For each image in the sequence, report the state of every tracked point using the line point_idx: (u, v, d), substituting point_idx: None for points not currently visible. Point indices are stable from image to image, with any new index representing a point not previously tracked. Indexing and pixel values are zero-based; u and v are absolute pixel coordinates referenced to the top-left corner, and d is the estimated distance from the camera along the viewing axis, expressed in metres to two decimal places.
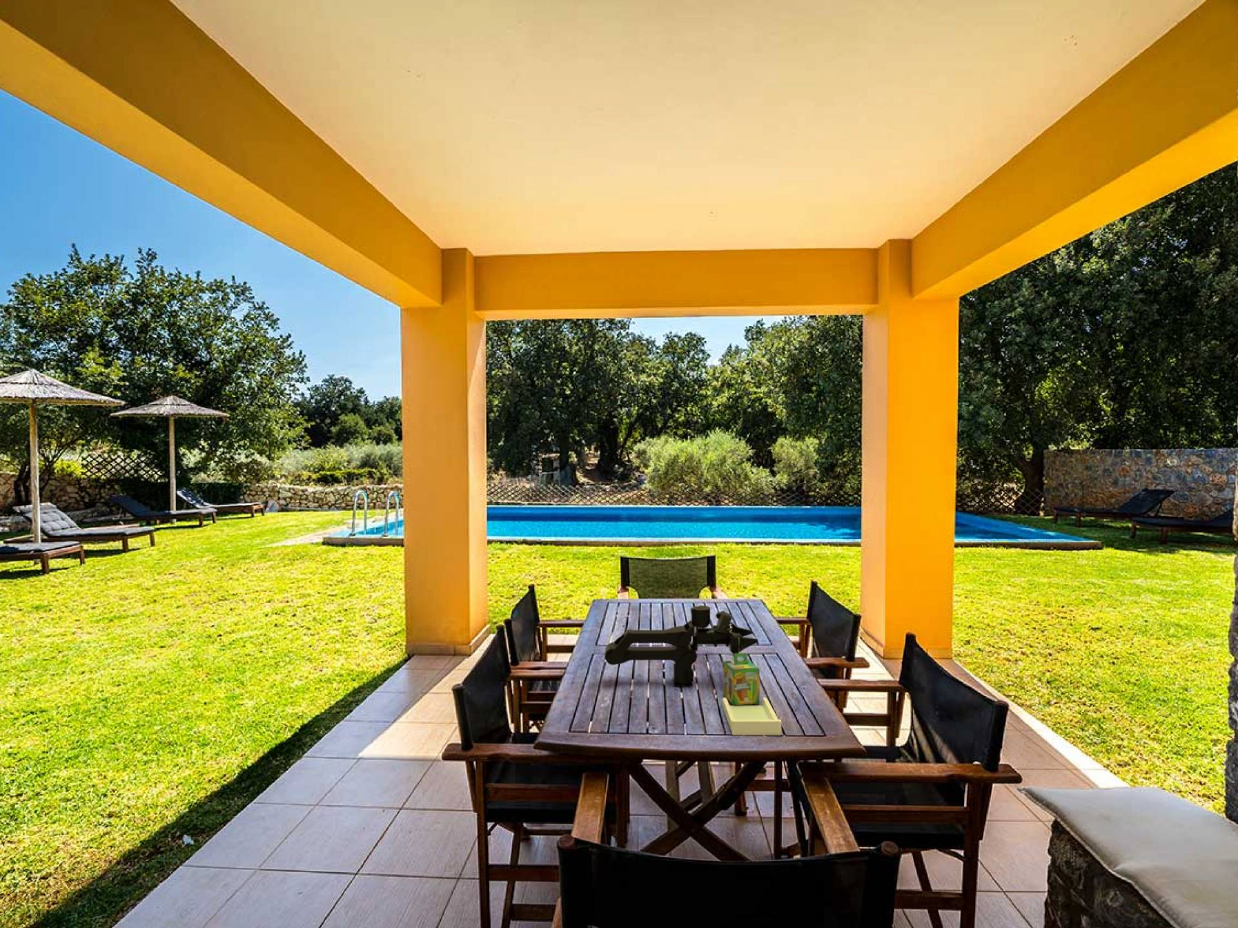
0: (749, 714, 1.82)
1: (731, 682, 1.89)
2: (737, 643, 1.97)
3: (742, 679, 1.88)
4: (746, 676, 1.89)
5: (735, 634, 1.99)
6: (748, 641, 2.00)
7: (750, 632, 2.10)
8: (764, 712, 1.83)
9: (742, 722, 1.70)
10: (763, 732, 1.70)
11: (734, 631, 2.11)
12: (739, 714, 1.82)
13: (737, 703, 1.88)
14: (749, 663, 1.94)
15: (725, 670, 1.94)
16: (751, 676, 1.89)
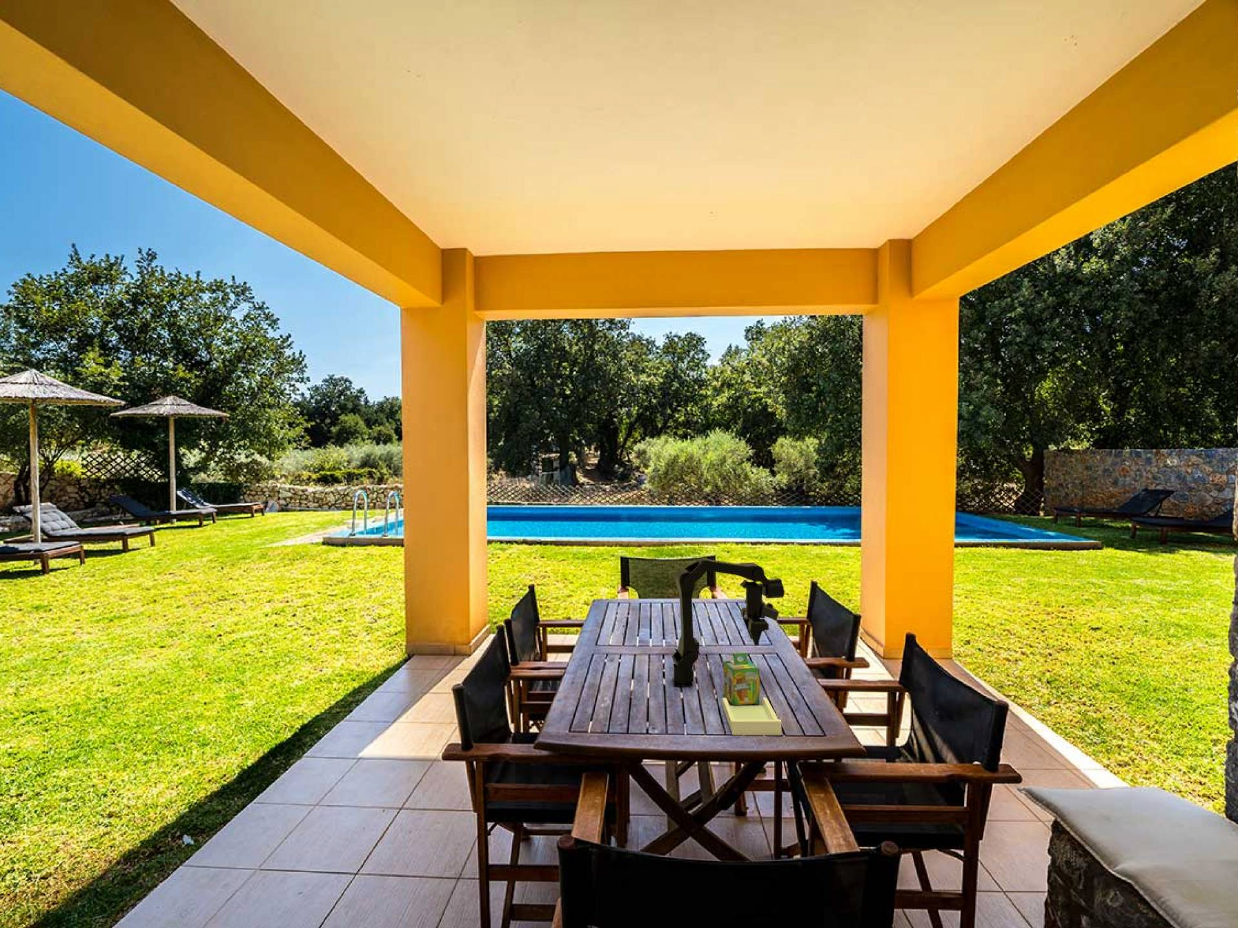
0: (749, 714, 1.82)
1: (731, 682, 1.89)
2: (761, 628, 2.01)
3: (742, 679, 1.88)
4: (746, 676, 1.89)
5: None
6: (757, 636, 2.06)
7: (752, 637, 2.13)
8: (764, 712, 1.83)
9: (742, 722, 1.70)
10: (763, 732, 1.70)
11: None
12: (739, 714, 1.82)
13: (737, 703, 1.88)
14: (749, 663, 1.94)
15: (725, 671, 1.94)
16: (751, 676, 1.89)
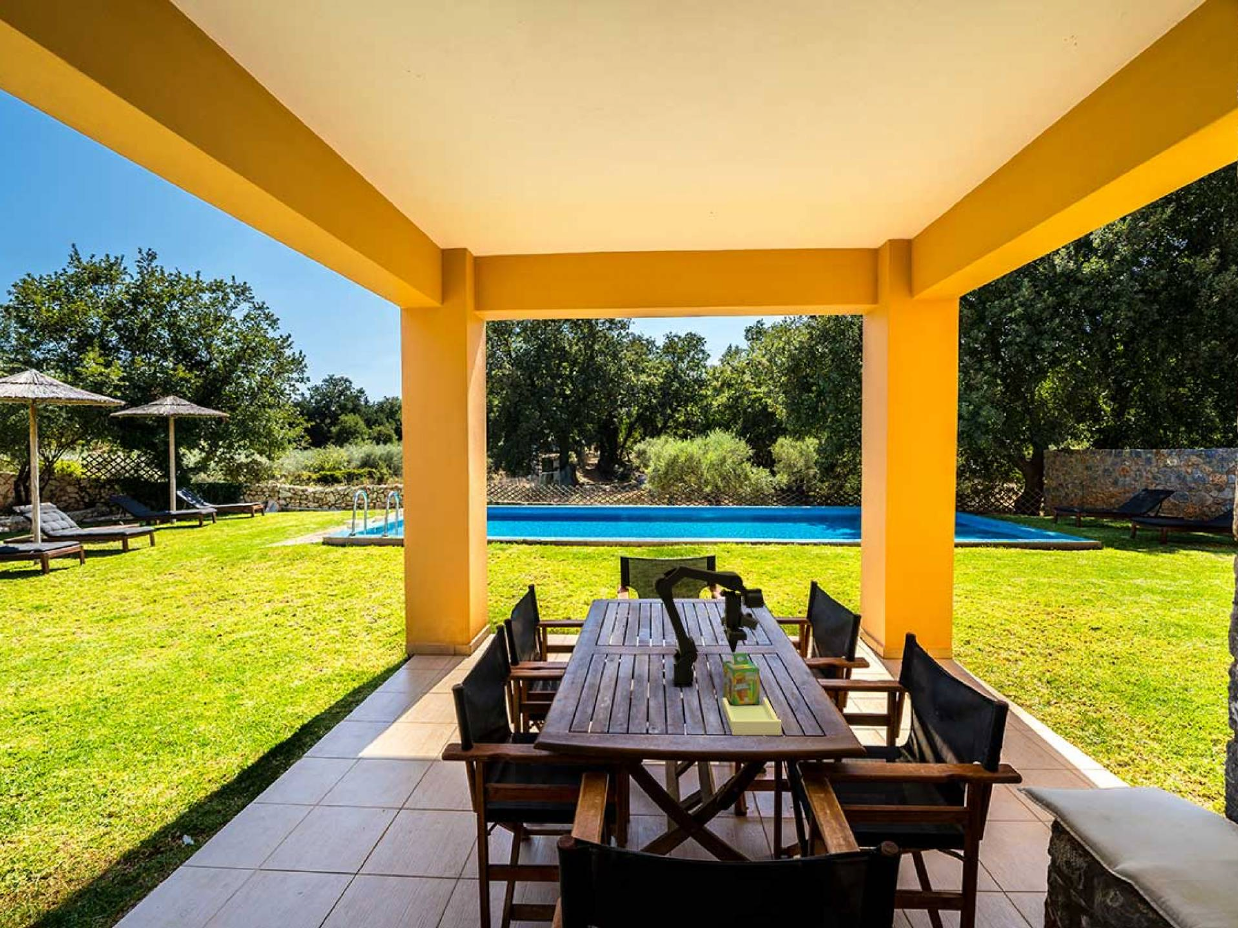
0: (749, 714, 1.82)
1: (731, 682, 1.89)
2: (740, 639, 1.98)
3: (742, 679, 1.88)
4: (746, 676, 1.89)
5: None
6: (734, 643, 2.06)
7: None
8: (764, 712, 1.83)
9: (742, 722, 1.70)
10: (763, 732, 1.70)
11: None
12: (739, 714, 1.82)
13: (737, 703, 1.88)
14: (749, 663, 1.94)
15: (725, 671, 1.94)
16: (751, 676, 1.89)
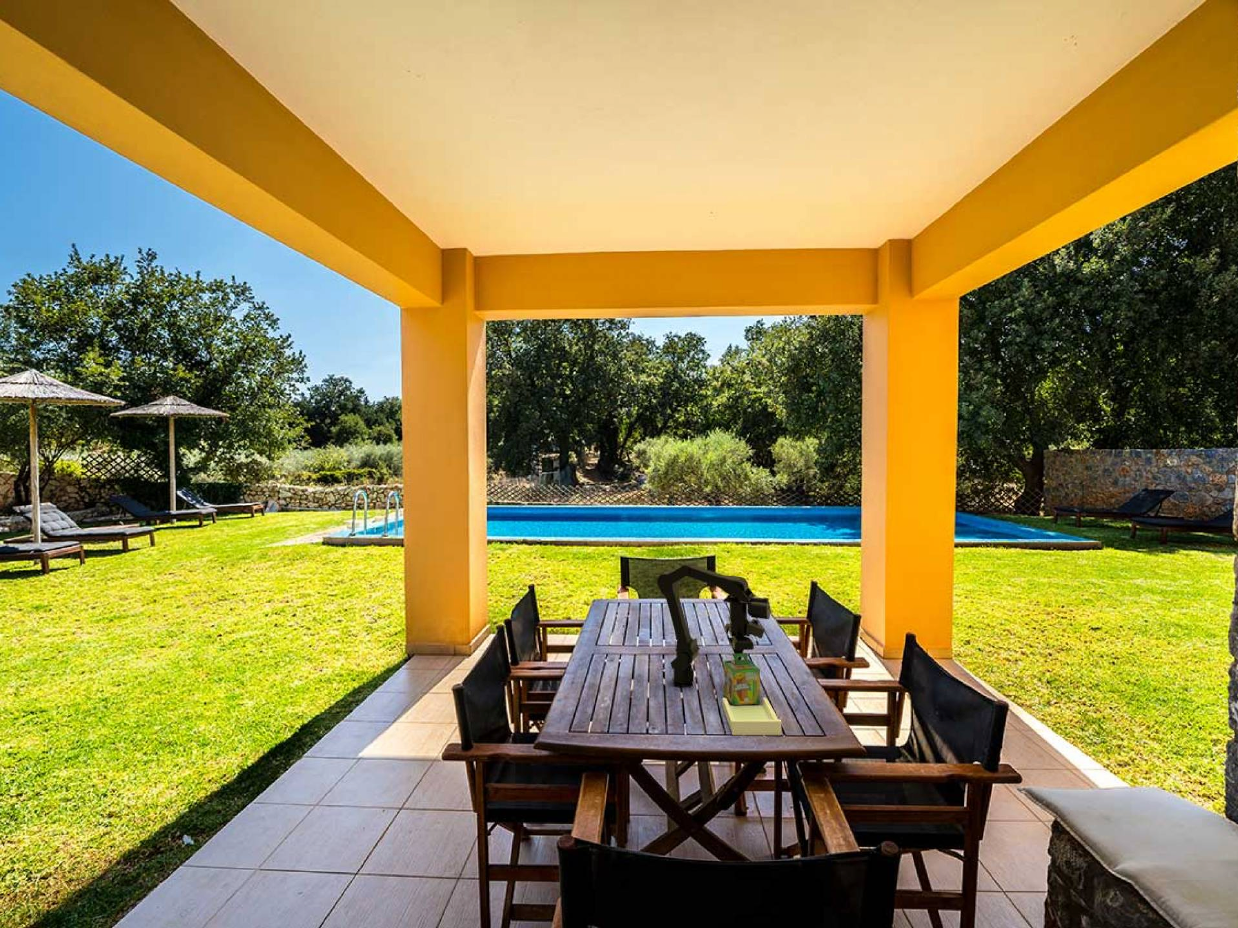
0: (749, 714, 1.82)
1: (731, 682, 1.89)
2: (746, 648, 1.88)
3: (742, 679, 1.88)
4: (746, 676, 1.88)
5: None
6: (739, 652, 1.97)
7: (738, 659, 1.98)
8: (764, 712, 1.83)
9: (742, 722, 1.70)
10: (763, 732, 1.70)
11: None
12: (739, 714, 1.82)
13: (737, 703, 1.88)
14: (749, 663, 1.94)
15: (726, 670, 1.94)
16: (751, 676, 1.89)
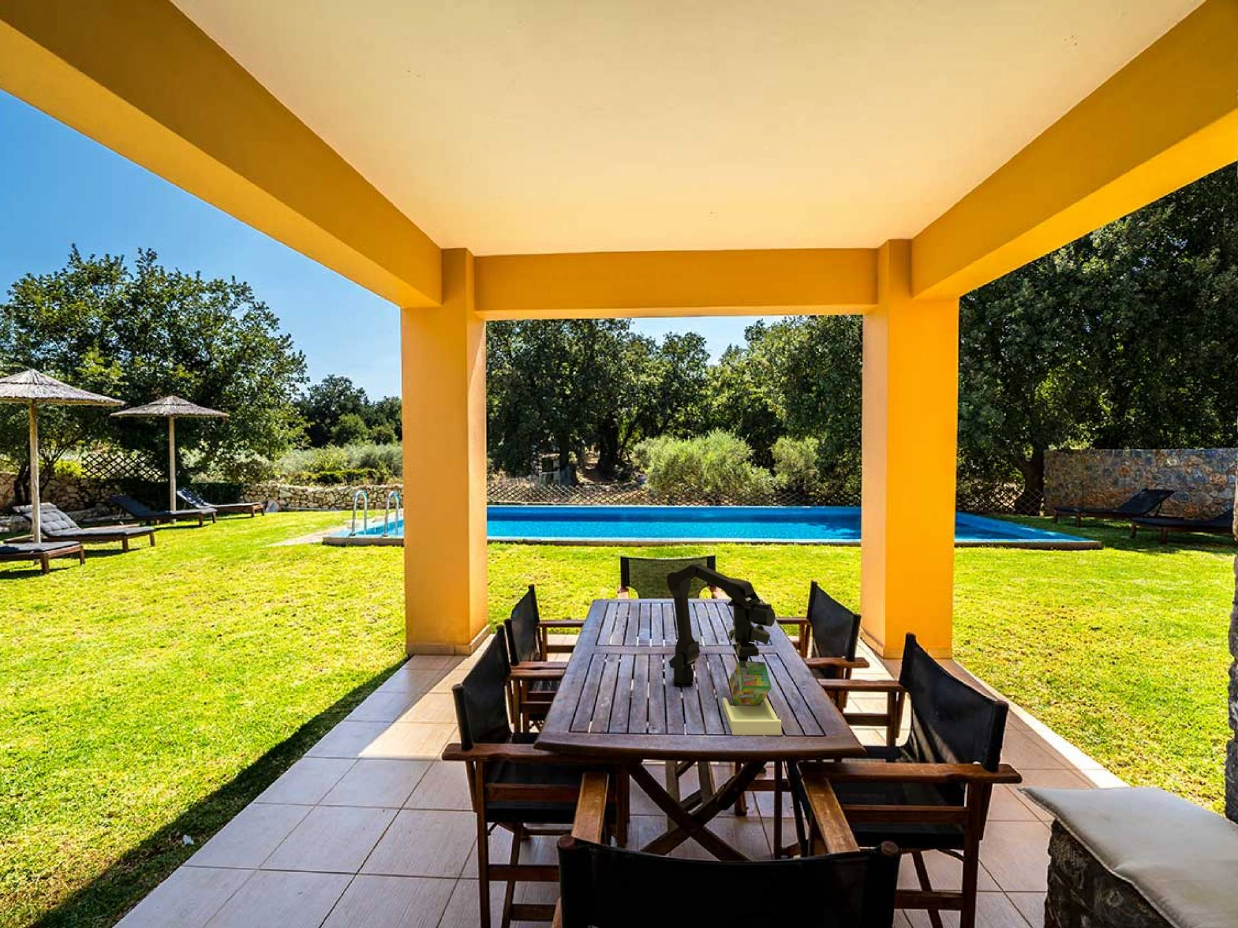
0: (749, 714, 1.82)
1: (738, 689, 1.84)
2: (751, 654, 1.81)
3: (750, 692, 1.83)
4: (755, 691, 1.82)
5: None
6: (744, 659, 1.89)
7: None
8: (764, 712, 1.83)
9: (742, 722, 1.70)
10: (763, 732, 1.70)
11: None
12: (739, 714, 1.82)
13: (738, 704, 1.87)
14: (763, 673, 1.84)
15: (737, 670, 1.87)
16: (760, 691, 1.82)
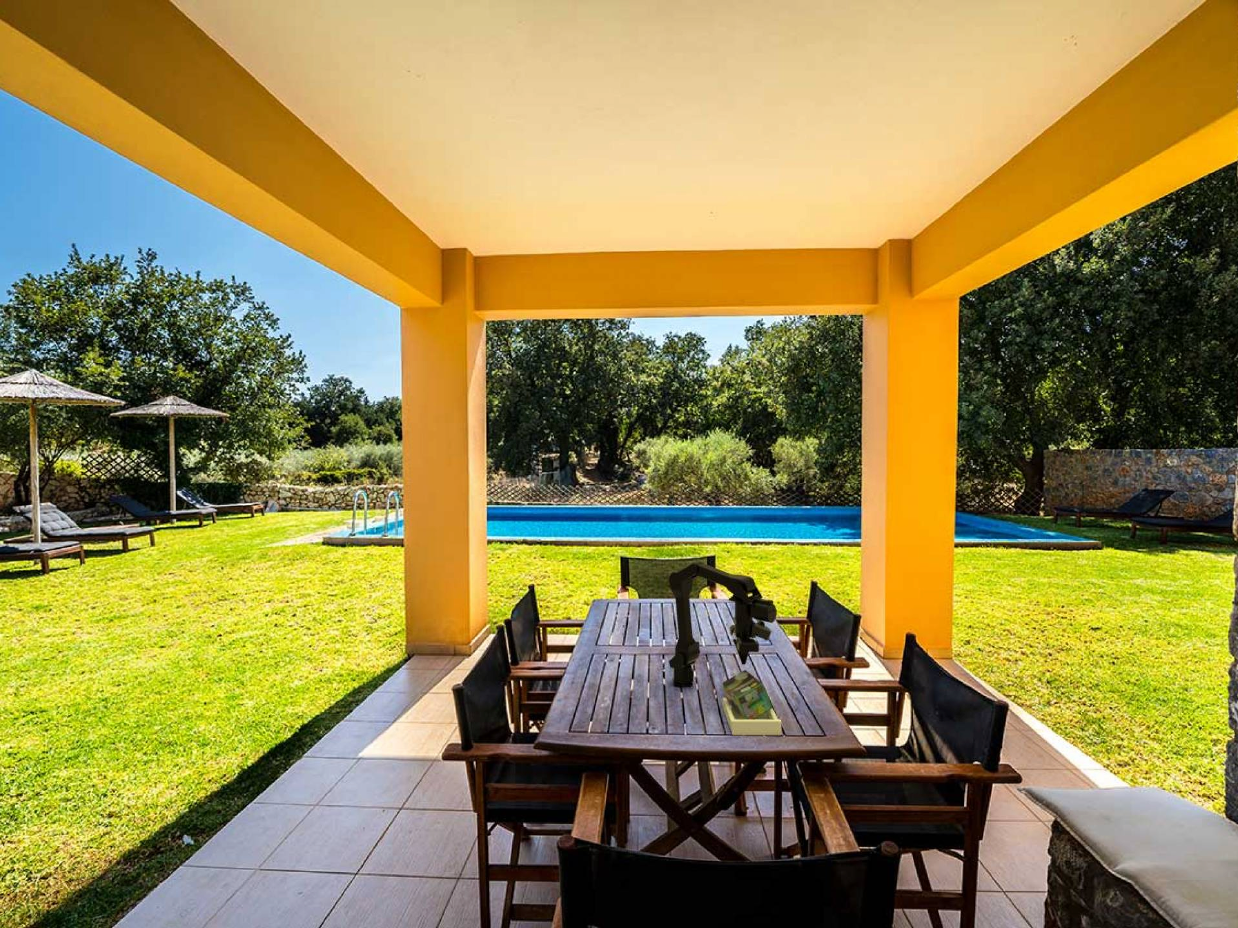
0: None
1: (739, 711, 1.80)
2: (751, 650, 1.80)
3: None
4: None
5: None
6: (744, 655, 1.88)
7: None
8: None
9: (742, 722, 1.70)
10: (763, 732, 1.70)
11: None
12: (739, 714, 1.82)
13: None
14: (763, 697, 1.77)
15: (736, 699, 1.78)
16: None
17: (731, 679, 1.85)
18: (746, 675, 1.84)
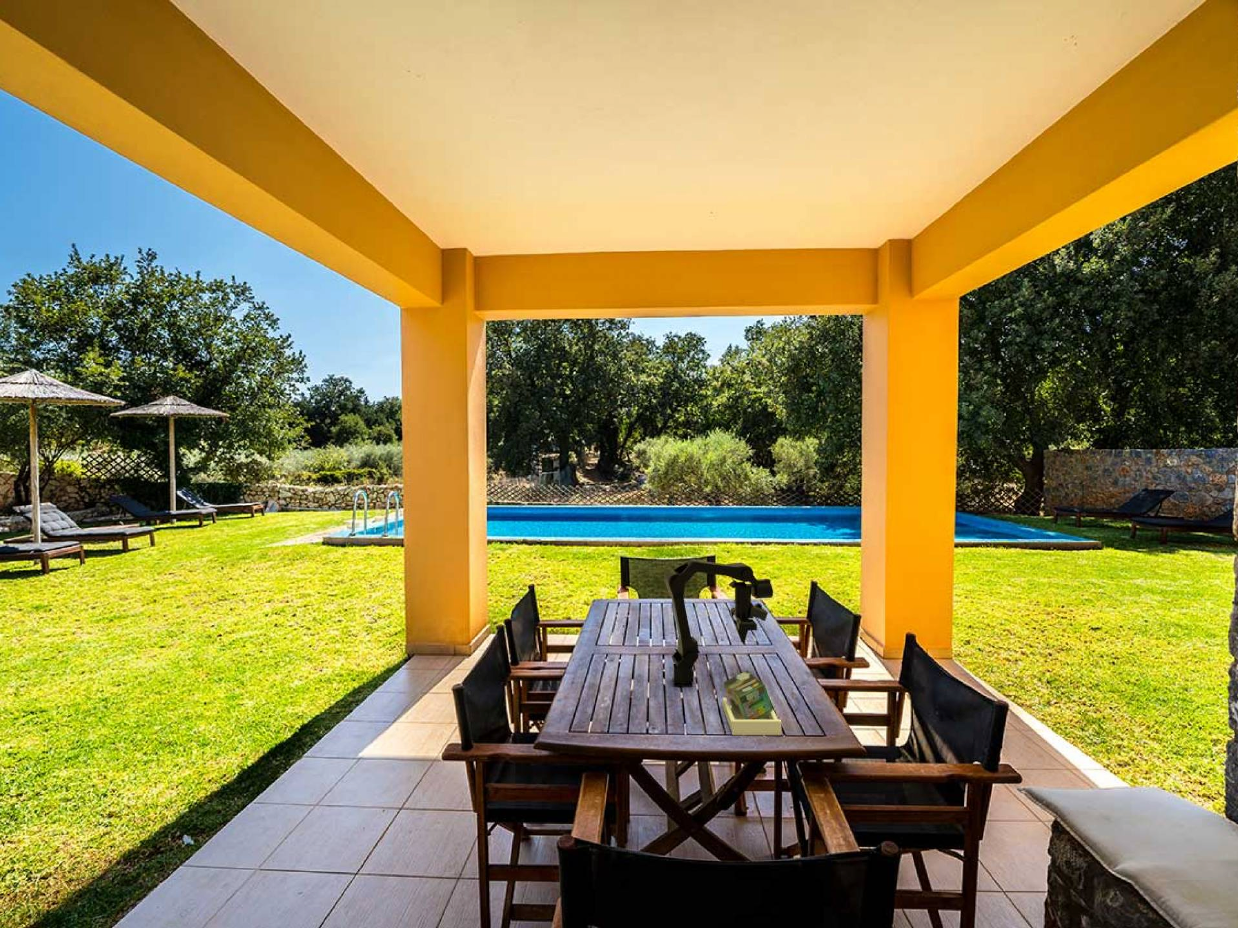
0: None
1: (739, 711, 1.80)
2: (750, 628, 2.01)
3: None
4: None
5: None
6: (744, 634, 2.09)
7: None
8: None
9: (742, 722, 1.70)
10: (763, 732, 1.70)
11: None
12: (739, 714, 1.82)
13: None
14: (764, 698, 1.77)
15: (737, 699, 1.78)
16: None
17: (733, 679, 1.85)
18: (748, 675, 1.84)
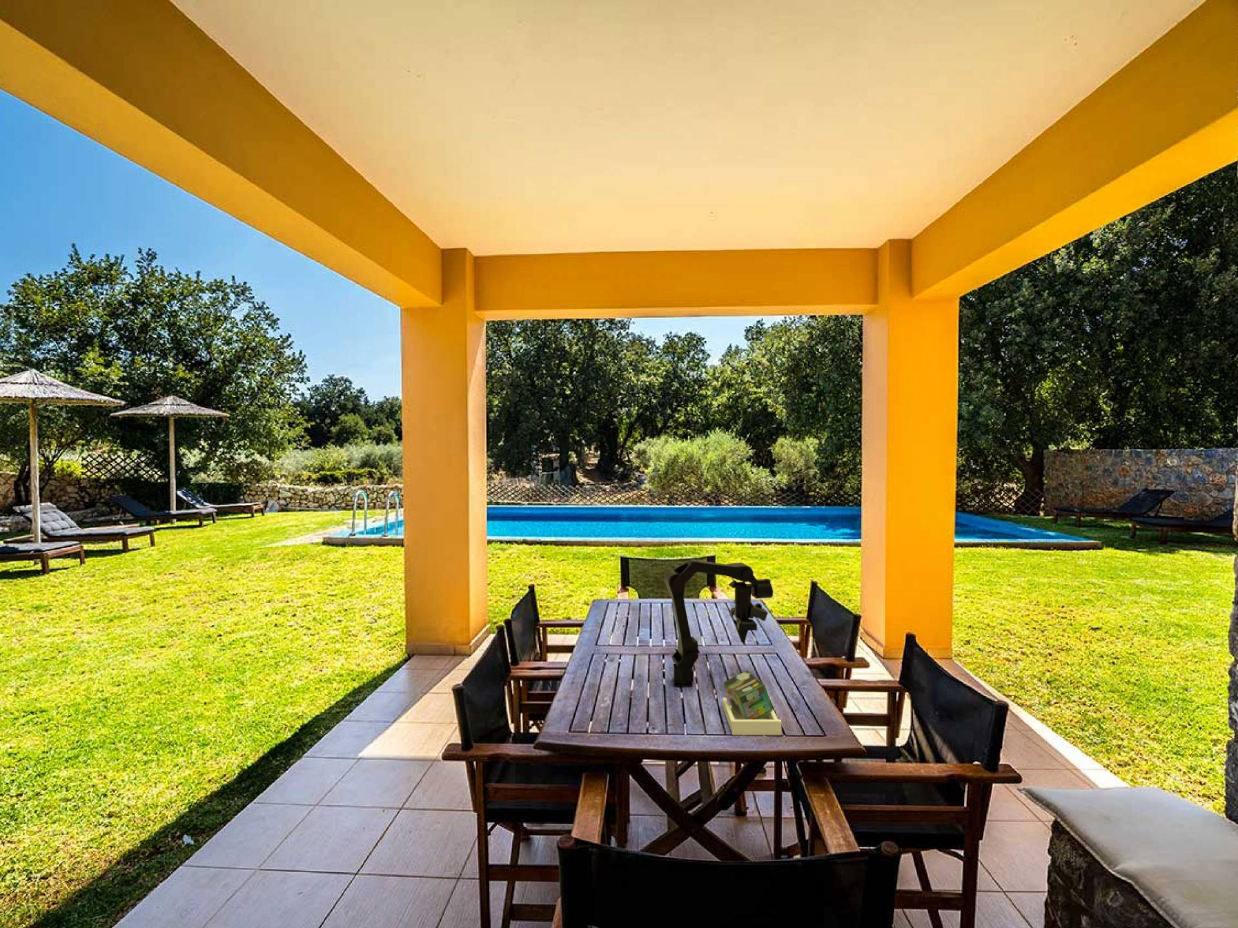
0: None
1: (739, 711, 1.80)
2: (750, 628, 2.01)
3: None
4: None
5: None
6: (743, 634, 2.09)
7: None
8: None
9: (742, 722, 1.70)
10: (763, 732, 1.70)
11: None
12: (739, 714, 1.82)
13: None
14: (764, 698, 1.77)
15: (737, 699, 1.78)
16: None
17: (733, 679, 1.85)
18: (748, 675, 1.84)
